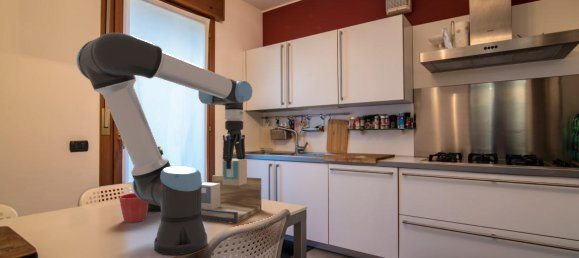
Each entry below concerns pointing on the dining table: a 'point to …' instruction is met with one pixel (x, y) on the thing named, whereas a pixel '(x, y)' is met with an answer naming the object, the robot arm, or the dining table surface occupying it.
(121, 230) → the dining table surface
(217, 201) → the cream box
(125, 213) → the flower pot
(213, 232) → the dining table surface
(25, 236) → the dining table surface
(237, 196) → the shelf
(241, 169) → the tea box
